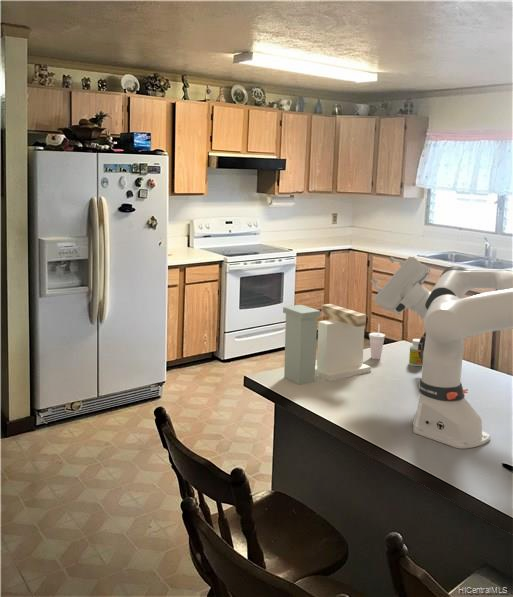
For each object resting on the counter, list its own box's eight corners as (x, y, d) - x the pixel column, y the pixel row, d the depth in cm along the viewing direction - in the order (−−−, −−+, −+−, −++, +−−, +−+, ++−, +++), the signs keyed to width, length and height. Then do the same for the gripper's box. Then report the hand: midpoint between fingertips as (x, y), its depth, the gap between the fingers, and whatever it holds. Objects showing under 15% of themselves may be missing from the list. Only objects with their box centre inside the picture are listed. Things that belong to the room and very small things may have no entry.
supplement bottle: (407, 364, 248) (408, 340, 246) (410, 361, 253) (412, 337, 251) (421, 367, 246) (422, 342, 244) (424, 363, 251) (426, 339, 249)
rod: (365, 325, 227) (366, 314, 226) (357, 326, 225) (357, 315, 224) (329, 314, 244) (330, 303, 243) (321, 315, 241) (321, 304, 241)
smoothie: (385, 360, 254) (387, 326, 251) (369, 360, 254) (370, 325, 251) (382, 355, 260) (384, 322, 257) (366, 355, 260) (368, 321, 257)
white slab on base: (370, 371, 239) (373, 320, 235) (329, 381, 229) (331, 326, 224) (349, 363, 249) (351, 313, 245) (308, 371, 238) (310, 319, 234)
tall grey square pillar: (317, 381, 228) (320, 310, 222) (299, 385, 223) (301, 313, 218) (299, 373, 237) (301, 304, 231) (281, 376, 232) (283, 307, 227)
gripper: (433, 271, 212) (400, 245, 214) (393, 318, 217) (361, 292, 219) (432, 270, 218) (400, 244, 220) (393, 315, 223) (362, 290, 225)
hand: (380, 268), depth 219 cm, fingers open, 8 cm apart
